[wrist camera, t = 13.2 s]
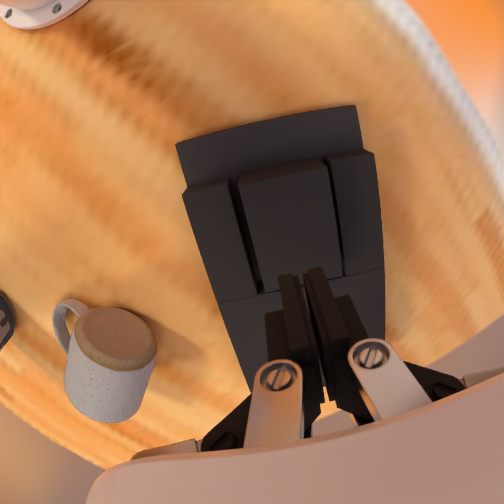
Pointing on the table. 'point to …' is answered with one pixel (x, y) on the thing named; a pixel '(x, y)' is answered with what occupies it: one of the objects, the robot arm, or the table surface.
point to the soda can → (5, 321)
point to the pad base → (237, 230)
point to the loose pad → (291, 220)
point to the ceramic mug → (105, 360)
